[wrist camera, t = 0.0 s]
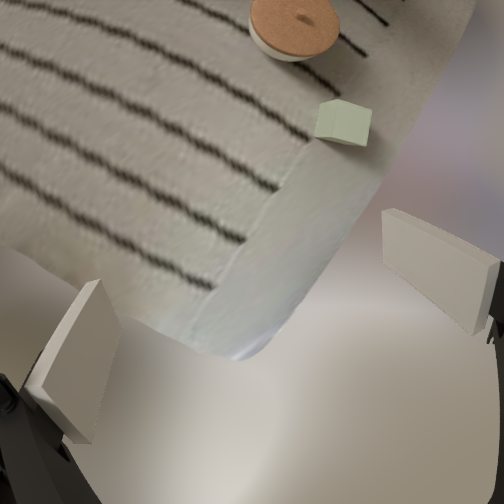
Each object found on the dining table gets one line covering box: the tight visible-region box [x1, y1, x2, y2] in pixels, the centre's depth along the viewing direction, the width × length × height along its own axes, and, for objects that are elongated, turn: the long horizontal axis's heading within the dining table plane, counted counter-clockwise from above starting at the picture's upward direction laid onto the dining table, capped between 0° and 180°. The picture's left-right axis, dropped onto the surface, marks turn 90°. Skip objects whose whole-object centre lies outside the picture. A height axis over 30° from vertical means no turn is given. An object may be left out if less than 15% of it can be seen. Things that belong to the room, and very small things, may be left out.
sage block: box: [314, 99, 372, 146], centre depth 35 cm, size 5×5×6 cm
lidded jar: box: [248, 0, 340, 62], centre depth 28 cm, size 11×11×9 cm
